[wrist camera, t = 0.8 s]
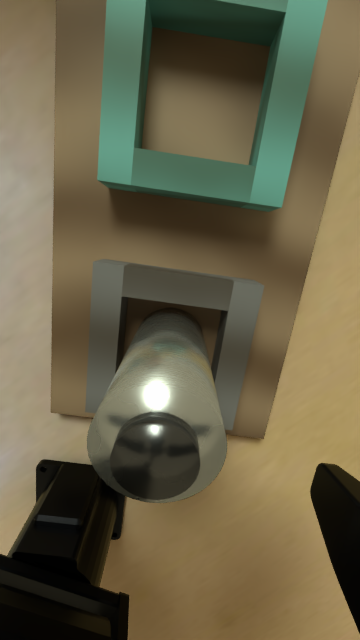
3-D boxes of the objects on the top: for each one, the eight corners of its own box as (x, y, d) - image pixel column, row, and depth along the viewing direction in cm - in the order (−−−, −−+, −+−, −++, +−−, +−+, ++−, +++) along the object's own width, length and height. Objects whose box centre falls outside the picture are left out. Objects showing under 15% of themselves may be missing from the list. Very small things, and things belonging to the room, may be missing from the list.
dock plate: (259, 428, 19) (273, 461, 17) (57, 403, 19) (35, 433, 16) (371, -12, 13) (425, -84, 10) (67, -65, 12) (32, -156, 10)
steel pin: (198, 374, 17) (216, 529, 8) (133, 366, 17) (76, 513, 8) (208, 312, 16) (244, 408, 7) (139, 303, 16) (82, 388, 7)
